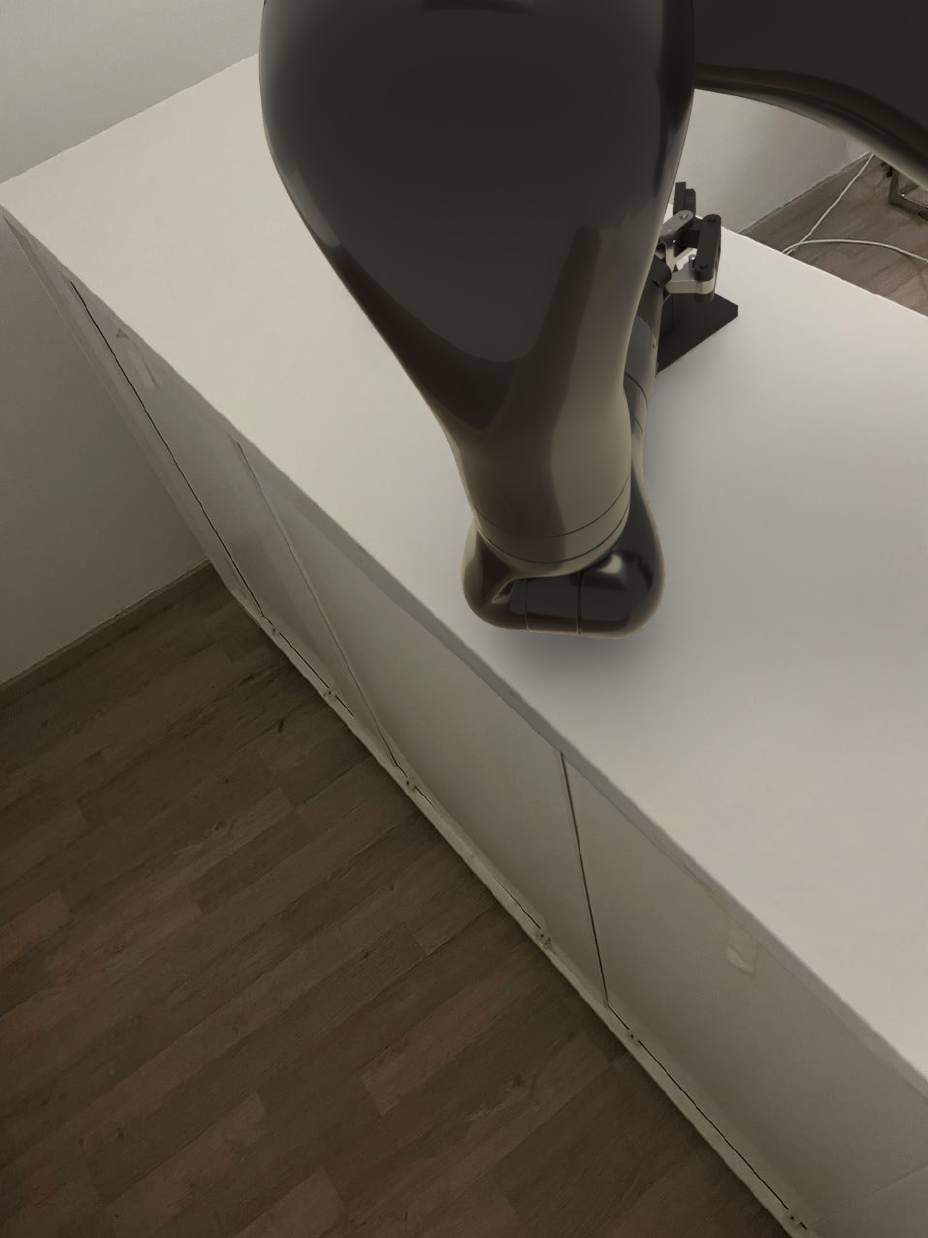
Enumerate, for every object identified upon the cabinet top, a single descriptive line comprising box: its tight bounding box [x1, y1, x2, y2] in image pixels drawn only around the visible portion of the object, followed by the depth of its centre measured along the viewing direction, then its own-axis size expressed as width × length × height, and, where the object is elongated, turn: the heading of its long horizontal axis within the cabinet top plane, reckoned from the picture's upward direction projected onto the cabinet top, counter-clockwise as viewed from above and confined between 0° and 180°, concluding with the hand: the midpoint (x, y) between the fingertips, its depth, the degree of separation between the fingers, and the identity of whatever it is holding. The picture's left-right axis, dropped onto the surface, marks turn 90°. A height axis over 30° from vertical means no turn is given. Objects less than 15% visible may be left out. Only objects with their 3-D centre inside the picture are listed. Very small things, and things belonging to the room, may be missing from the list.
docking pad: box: [657, 263, 739, 374], centre depth 74 cm, size 12×12×4 cm
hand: (619, 198), depth 68 cm, fingers open, 8 cm apart
